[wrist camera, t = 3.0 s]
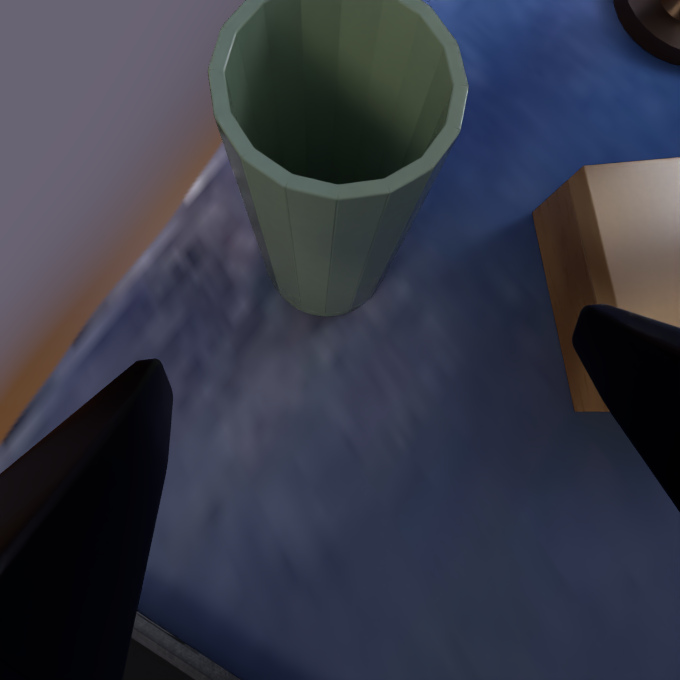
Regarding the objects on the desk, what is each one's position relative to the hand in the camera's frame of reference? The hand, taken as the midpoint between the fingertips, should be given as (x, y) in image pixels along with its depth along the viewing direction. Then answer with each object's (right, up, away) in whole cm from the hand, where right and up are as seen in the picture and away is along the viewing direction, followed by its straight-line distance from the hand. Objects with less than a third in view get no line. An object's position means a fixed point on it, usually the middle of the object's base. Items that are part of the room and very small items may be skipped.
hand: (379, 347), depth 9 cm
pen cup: (-2, +4, +13) cm, 14 cm away
